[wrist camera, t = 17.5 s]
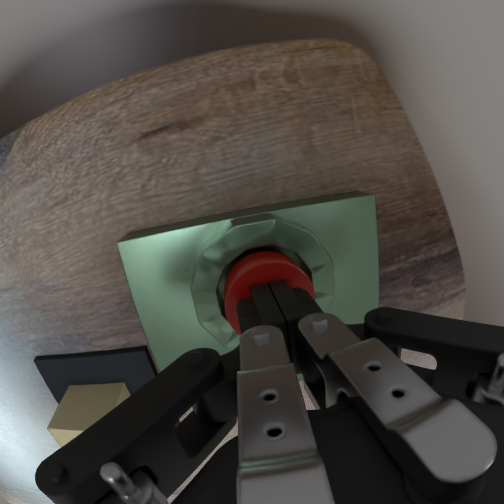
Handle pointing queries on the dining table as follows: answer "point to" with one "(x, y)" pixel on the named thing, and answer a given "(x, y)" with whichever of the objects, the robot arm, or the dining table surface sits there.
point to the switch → (260, 279)
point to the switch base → (234, 249)
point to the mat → (97, 369)
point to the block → (84, 408)
